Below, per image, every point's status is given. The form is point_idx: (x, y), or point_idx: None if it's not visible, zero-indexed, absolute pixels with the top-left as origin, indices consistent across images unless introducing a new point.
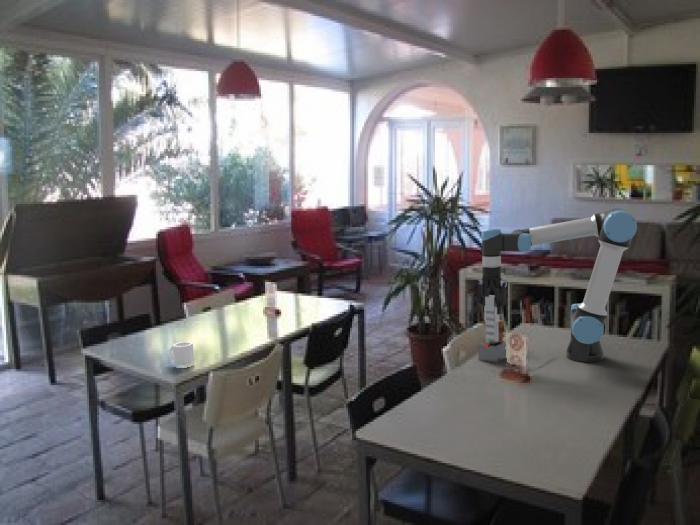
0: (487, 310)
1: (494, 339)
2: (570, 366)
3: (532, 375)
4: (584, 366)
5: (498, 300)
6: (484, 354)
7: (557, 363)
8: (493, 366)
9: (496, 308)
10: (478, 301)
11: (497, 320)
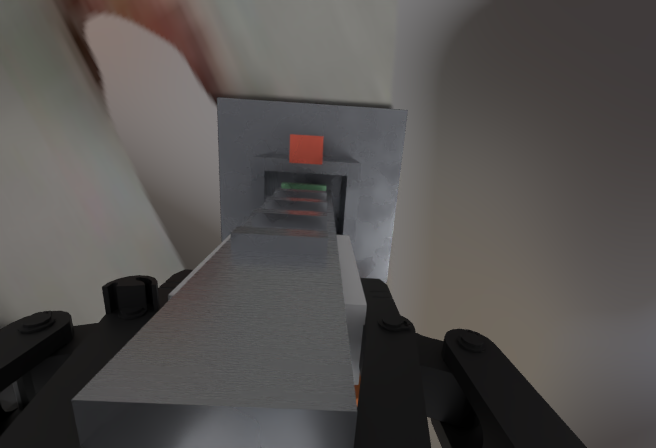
0: (309, 257)
1: (274, 193)
2: (41, 272)
3: (92, 98)
4: (4, 294)
5: (54, 383)
6: (325, 158)
7: (96, 285)
8: None
9: (178, 285)
10: (495, 351)
11: None
